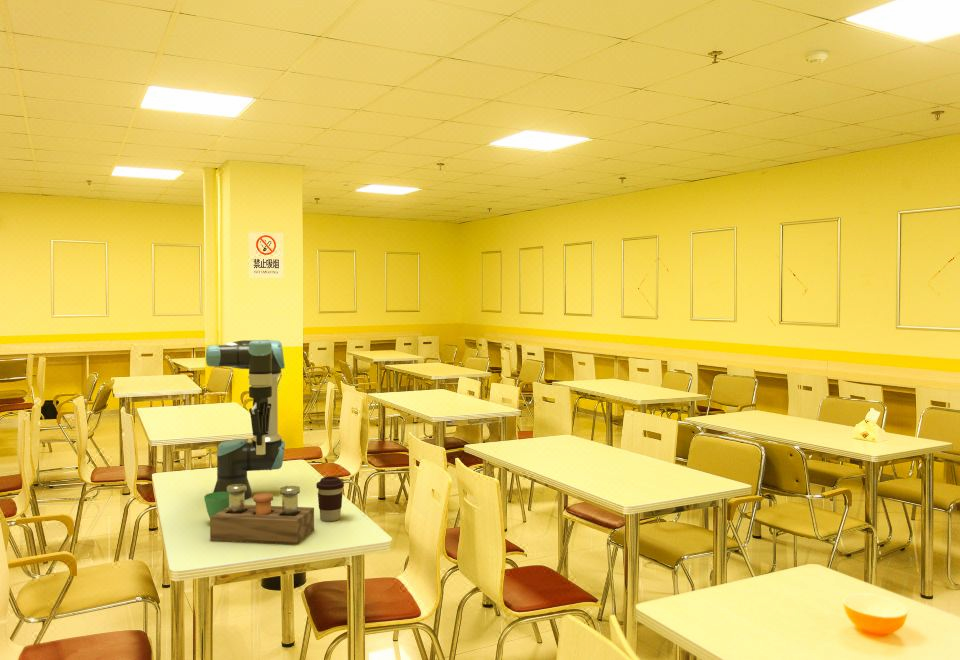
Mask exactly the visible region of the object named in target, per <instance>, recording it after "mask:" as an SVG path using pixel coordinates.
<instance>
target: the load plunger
mask: <svg viewBox="0 0 960 660" xmlns="http://www.w3.org/2000/svg"><path fill="white" fill-rule="evenodd" d="M252 499H253V503H254V502H255V505H256V515H269V514H270V513H271V506H272V501H273V500H274V494H273V493H271V492H260V493H255V494H254V495H253V497H252Z"/></svg>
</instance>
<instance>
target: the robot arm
mask: <svg viewBox="0 0 960 660" xmlns="http://www.w3.org/2000/svg"><path fill="white" fill-rule="evenodd" d="M205 363H206V365H207V367H214V368H219V367H220V368H221V367H222V368H223V367H227V368H233V369H238V370H240V369H241V370H248V376H247V378H248V385H249V387H248V397H249V398H251V399H253V400H252V407H250V408H249V409H248V411H249V414H250V422H251V430H252V432H251V433H252V438H251V439H252V441H251V442H248V439H246V438H235V439H230V440H225V441H223V442H221V443H219V444H218V445H217V448H216V449H217V450H216V465H217V466H216V468H217V469H216V470H217V471H216V473H217V474H216V475H217V476H216V477H217V478H216V482H215V486H214V489H213V491H212V493H215V492H227V486H229V485H232V484H245V485H247V490H246V491H245V492H244V499H245V500H247V499H250V498H251V497H252V493H253V492H252V491H253V490H252V487H251V485H250V484H251V483H250V482H249V479H248V472H253V471H257V472H259V471H273V470H280V469H281V468H282V467H283V462H284V455H285V447H286V441H285V440H282V438H283V437H282V436H281V434H279V431H278V430H279V429H278V425H279V423H278V422H279V419H278V418H279V417H278V415H279V413H278V411H279V410H278V409H279V408H278V403H279V402H278V377H279V376H280V375H281V374H282V370H283V369H286V365H285V355H284V350H283V345H282V342H281V340H280V341H279V340H276V339H258V340H257V339H256V340H255V339H254V340H253V339H251V340H248V339H247V340H242V339H241V340H236V341H231V342H227V343H225V344H214V345H210V344H209V345H208V346H207V347H206V350H205Z"/></svg>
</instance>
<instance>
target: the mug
mask: <svg viewBox="0 0 960 660" xmlns="http://www.w3.org/2000/svg"><path fill="white" fill-rule="evenodd" d="M203 500H204V503H205V507H206V512H207V515H208V518H209V519H210V517H211V516H213V515H215V514H216V513H218V512H220V511H222V510H223V509H225V508H227V507H229V493H228V492H215V493H213V492H210V493H206V494H205V495H204V498H203Z"/></svg>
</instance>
